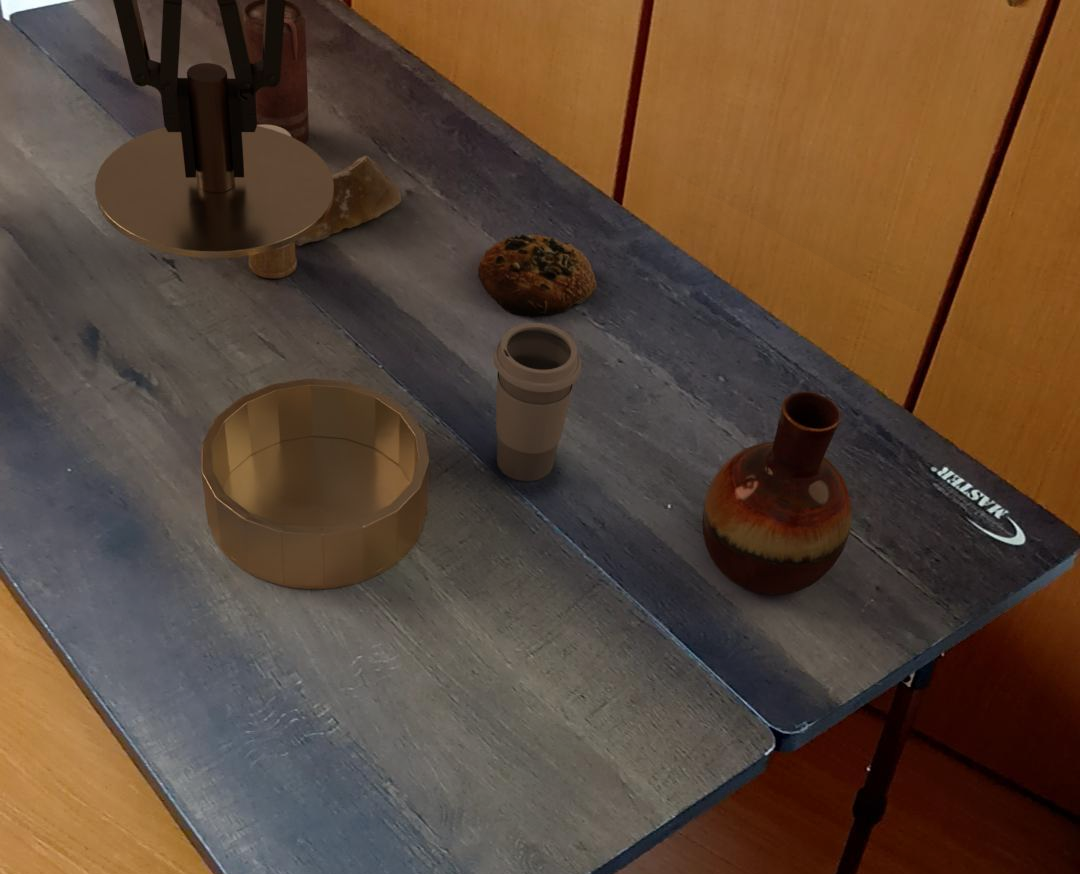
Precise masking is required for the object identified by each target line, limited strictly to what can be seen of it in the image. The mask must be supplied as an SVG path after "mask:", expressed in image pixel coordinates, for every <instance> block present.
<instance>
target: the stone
mask: <svg viewBox="0 0 1080 874" xmlns="http://www.w3.org/2000/svg"><path fill="white" fill-rule="evenodd" d="M331 174H332V178H333V182H334V198H333V202H332V206H331V208H330V210H329V212H328V214H327V215H326V217H325V218H324V219H323V221H322V222H321V223H320V224H319V225H318V226H317V227H316V228H315V229H314V230H312V231H311V232H309V233H308V234H307V235H305V236H304V237H302V238H300V239H298V240H296V241H295V246H298V247H300V246H302V245H306V244H308V243H312V242H319V241H322V240H325V239H327V238H328V237H330V236H331V235H333V234H336V233H337V234H338V233H340V232H342V230H344V229H352V228H354V227H357V226H359V225H362V224H363V223H367V222H368V221H371V220H373V219H377V218H379V217H380V216H381V215H384V214H385V213H386V212H388V211H390V210H393V209H394V208H395V207H397V206H398V205H399V204H400V203H401V202H402V194H401V192H400V189H399V188H398V187H397V185H396V184H395V182H394V181H392V179H391V178H390V176H388V174H387V173H386V172H385V171H384V170H383V169H382V168H381V167H380V166H379V165H378V164H377V162H375V161H374V160H373V159H372V158H370V157H369V156H368V155H363V156H362V157H358V158H357V159H356V160H354V161H353V162H351V163H350V164H348V166H347V167H345V168H343V169H342V170H340V171H338V172H335V173H331Z"/></svg>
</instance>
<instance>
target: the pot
mask: <svg viewBox="0 0 1080 874" xmlns="http://www.w3.org/2000/svg"><path fill="white" fill-rule="evenodd" d="M426 436H427V435H426V434H425V432H424V430H423V429H422V428H421V427H420V425H419V424H418V423H417V421H416V419H415V418H414V417H413V416H412V414H411V413H410V411H409V410H408V409H406V408H405V407H404V406H402V405H400V404H399V403H398V402H396V401H395V400H393V399H391V398H390V397H389V396H388V395H386V394H384V393H383V392H381V391H378V390H375V389H371V388H369V387H365V386H363V385H360V384H357V383H354V382H350V381H345V380H333V379H332V380H331V379H318V378H304V379H303V378H302V379H298V380H291V381H283V382H278V383H273V384H269V385H267V386H265V387H262V388H260V389H258V390H255V391H253V392H250V393H248V394H245V395H243V396H240V397H239V398H238V399H236V401H234V402H233V403H232V404H231V405H229V407H227V408H226V409H225V410H223V411H222V412H221V413H220V414H219V415H217V416H216V417H215V418H214V420H213V422H212V423H211V426H210V427H209V429H208V430H207V433H206V435H205V436H204V439H203V440H202V442H201V446H200V451H201V452H200V453H201V459H200V460H201V465H200V466H201V468H200V469H201V471H200V473H201V479H202V488H203V493H204V494H203V495H204V503H205V512H206V519H207V520H206V521H207V525H208V526H209V528H210V532H211V534H212V535H211V536H213V539H214V541H215V542H216V545H217V546H218V547H219V548H220V550H221V551H222V553H223V554H224V555H225V556H226V557H227V558H228V559H229V560H230V561H231V562H232V563H233V564H235V565H236V566H238V567H239V568H240V569H241V570H243V571H244V572H246V573H248V574H250V575H252V576H254V577H256V578H258V579H260V580H262V581H265V582H268V583H270V584H275V585H277V586H281V587H287V588H293V589H301V590H302V589H303V590H328V589H338V588H343V587H347V586H352V585H356V584H358V583H361V582H366V581H368V580H370V579H372V578H375V577H377V576H379V575H381V574H383V573H384V572H386V571H388V570H389V569H391V568H392V567H394V566H395V565H396V564H398V563H399V562H400V561H402V560H403V559H404V558H405V557H406V555H408V553H409V552H410V551H411V549H412V548H413V547H414V546H415V544H416V542H418V540H419V537H420V535H421V533H422V531H423V527H424V524H425V519H426V515H427V513H428V497H429V477H430V476H429V475H430V455H429V449H428V444H427V439H426V438H427V437H426Z"/></svg>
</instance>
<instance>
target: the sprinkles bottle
mask: <svg viewBox="0 0 1080 874" xmlns="http://www.w3.org/2000/svg"><path fill="white" fill-rule="evenodd" d="M257 126H260V127H264V128H268V129H272V130H275V131H277V132H280V133H283V134H286V135H288V136H290V137H292V136H291V135H290V133H289V132H288V131H286V130H285V129H283V128H281V127H278V126H274V125H257ZM247 260H248V261H247V263H248V267H249V269H250V271H251V272H252V273H254V274H255V275H257V276H259V277H261V278H266V279H281V278H282V279H283V278H285V277H288V276H289V275H291V274H292V273H294V271H296V269H297V266H298V258H297V256H296V244H295V242H293V243H290V244H288V245H286V246H283V247H281V248H278V249H275V250H271V251H268V252H264V253H260V254H255V255H250V256H248V259H247Z"/></svg>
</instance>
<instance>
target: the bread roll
mask: <svg viewBox="0 0 1080 874" xmlns="http://www.w3.org/2000/svg"><path fill="white" fill-rule="evenodd" d="M477 276H478V277H477V278H478V279H479V280H480V283H481V284H482V286H483V288H484V290H485V291H486V293H487V294H488V295H489V296H490V297H491V298H492V300H494V301H495V302H497V304H498V305H499V306H500V307H501V308H502V309H503V310H505V311H507V312H508V313H513V314H517V315H529V316H541V315H542V314H544V315H553V314H557V313H562V312H565V311H569V310H570V309H572V307H573V306H574V305H580V304H583V303H585V302H586V301H588V299H590V298H591V296H592V294H593V291H594V290H595V289H596V288H597V281H596V277H595V274H594V270H593V267H592V265H591V263H590V262H589V260H588V257H586V255H585V254H584V253H583V252H582V251H581V250H579V249H577V248H576V247H575V246H574V245H573V244H572V243H570V242H567V241H566V242H565V243H564V242H561V241H559V240H557V239H556V238H553V237H547V236H544V235H536V234H525V233H524V234H521V235H520V236H518V235H517V234H515V235H514V237H513V236H511V237H507V238H506V239H505V240H502V241H499V242H497V243H495V244H494V245H492V246H491V247H490V248H488V249H486V250H485V252H484V255H483V256H482V258H481V260H480V261H479V263H478V268H477Z"/></svg>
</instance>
